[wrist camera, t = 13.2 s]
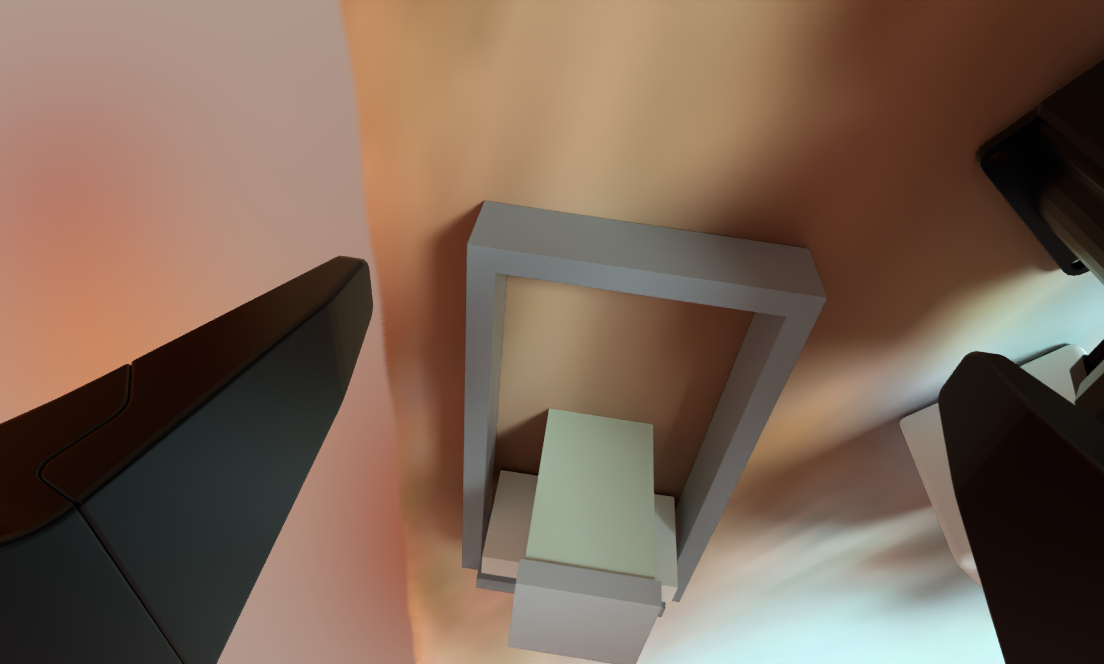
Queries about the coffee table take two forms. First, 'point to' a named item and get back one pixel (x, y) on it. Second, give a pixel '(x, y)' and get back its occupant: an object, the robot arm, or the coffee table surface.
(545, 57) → the coffee table surface
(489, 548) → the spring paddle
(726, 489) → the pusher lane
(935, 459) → the medicine bottle
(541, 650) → the sage jar
